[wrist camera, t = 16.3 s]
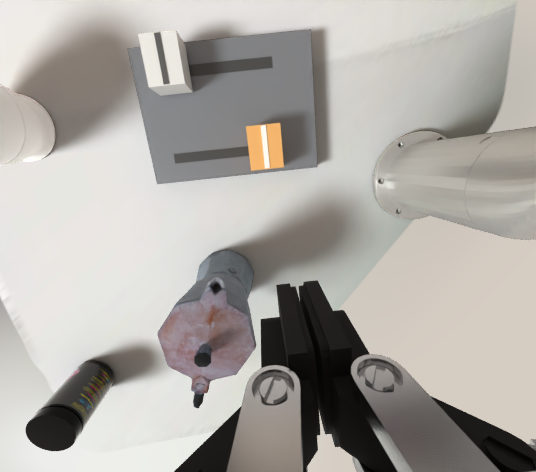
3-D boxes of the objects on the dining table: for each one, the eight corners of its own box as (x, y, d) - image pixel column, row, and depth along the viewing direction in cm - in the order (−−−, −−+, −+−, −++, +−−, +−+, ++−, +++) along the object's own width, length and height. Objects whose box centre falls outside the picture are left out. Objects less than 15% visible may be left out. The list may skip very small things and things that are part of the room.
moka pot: (261, 235, 40) (264, 302, 20) (251, 320, 44) (246, 444, 24) (200, 228, 39) (143, 291, 20) (195, 316, 43) (144, 438, 24)
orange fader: (277, 127, 33) (280, 122, 29) (281, 167, 34) (283, 167, 30) (247, 130, 33) (245, 126, 29) (251, 170, 34) (251, 170, 30)
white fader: (185, 45, 30) (175, 29, 26) (192, 92, 31) (184, 83, 28) (151, 48, 30) (137, 33, 26) (160, 95, 31) (148, 86, 28)
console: (306, 39, 33) (310, 28, 30) (313, 166, 37) (317, 166, 35) (137, 57, 33) (127, 47, 30) (163, 182, 37) (156, 184, 34)
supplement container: (91, 352, 44) (41, 407, 34) (123, 373, 46) (85, 431, 36) (69, 375, 45) (16, 435, 35) (102, 395, 47) (59, 458, 37)
